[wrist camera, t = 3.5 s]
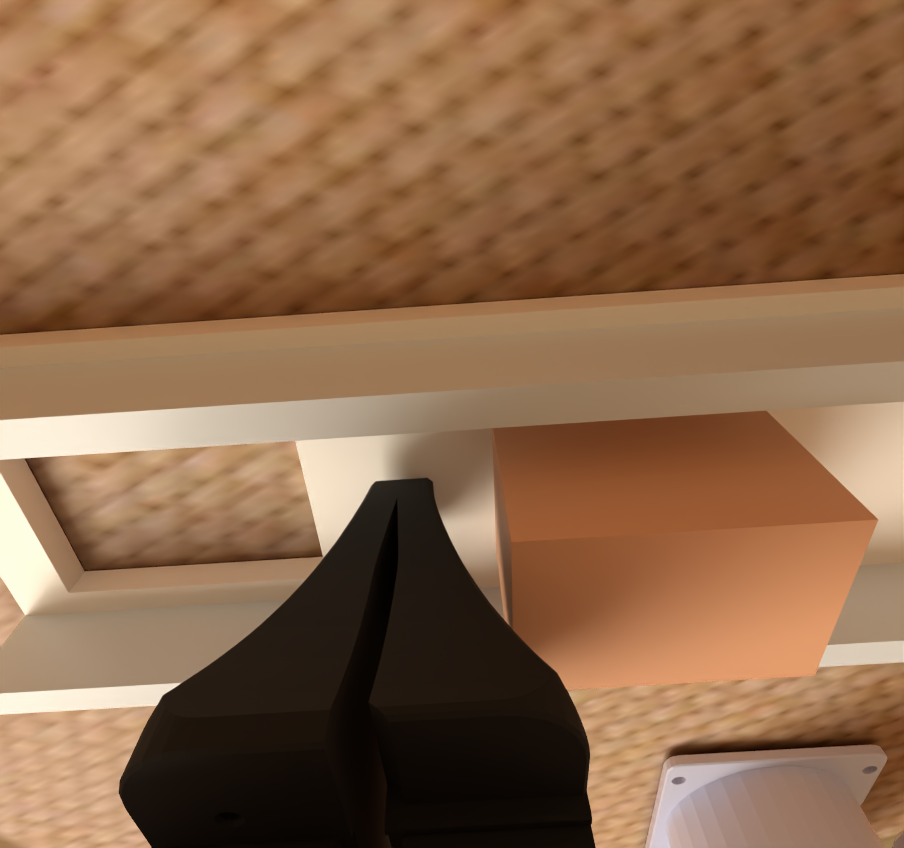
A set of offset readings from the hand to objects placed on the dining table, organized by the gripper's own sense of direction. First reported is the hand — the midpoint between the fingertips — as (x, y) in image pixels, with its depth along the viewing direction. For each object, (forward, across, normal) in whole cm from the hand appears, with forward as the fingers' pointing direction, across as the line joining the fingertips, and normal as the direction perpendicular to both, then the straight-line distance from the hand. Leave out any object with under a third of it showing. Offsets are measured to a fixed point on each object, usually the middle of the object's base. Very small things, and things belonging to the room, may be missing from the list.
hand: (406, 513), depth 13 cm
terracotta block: (+1, -5, 0) cm, 5 cm away
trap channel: (+1, -2, 0) cm, 3 cm away
